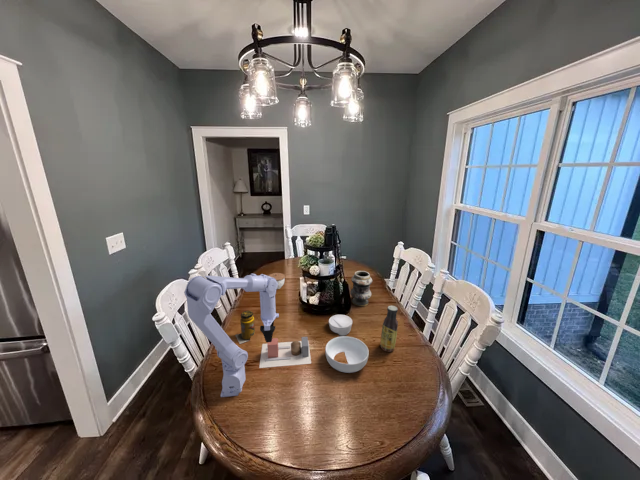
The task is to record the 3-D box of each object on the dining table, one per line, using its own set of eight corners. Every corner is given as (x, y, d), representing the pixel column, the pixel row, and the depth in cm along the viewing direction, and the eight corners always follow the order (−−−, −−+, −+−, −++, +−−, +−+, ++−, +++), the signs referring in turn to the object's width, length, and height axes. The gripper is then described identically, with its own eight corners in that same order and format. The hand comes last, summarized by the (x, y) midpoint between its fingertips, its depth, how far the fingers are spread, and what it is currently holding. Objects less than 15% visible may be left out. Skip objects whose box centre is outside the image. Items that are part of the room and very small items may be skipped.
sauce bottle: (377, 347, 112) (380, 306, 107) (385, 341, 116) (389, 301, 111) (389, 355, 108) (393, 313, 102) (398, 348, 112) (402, 308, 106)
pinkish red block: (278, 357, 104) (277, 344, 102) (268, 357, 103) (267, 345, 102) (278, 350, 108) (277, 337, 106) (268, 351, 107) (268, 338, 106)
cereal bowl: (373, 358, 106) (374, 344, 104) (358, 387, 92) (359, 371, 90) (336, 344, 114) (337, 330, 112) (317, 369, 100) (317, 353, 98)
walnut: (301, 355, 105) (300, 347, 104) (291, 356, 105) (291, 347, 104) (300, 348, 109) (300, 340, 108) (291, 349, 108) (290, 341, 107)
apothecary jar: (371, 308, 143) (373, 278, 139) (349, 306, 145) (350, 277, 140) (370, 297, 155) (372, 270, 150) (350, 296, 157) (351, 268, 152)
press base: (311, 366, 101) (311, 352, 99) (259, 371, 99) (258, 357, 97) (308, 343, 115) (308, 330, 113) (262, 346, 112) (261, 333, 110)
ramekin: (324, 333, 122) (324, 323, 120) (334, 321, 131) (334, 312, 130) (346, 340, 117) (347, 330, 115) (355, 327, 126) (355, 317, 125)
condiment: (258, 337, 118) (256, 314, 115) (239, 344, 114) (237, 320, 110) (252, 329, 124) (251, 307, 121) (235, 335, 119) (232, 312, 116)
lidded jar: (266, 285, 170) (265, 272, 168) (282, 282, 175) (281, 269, 172) (270, 292, 161) (270, 278, 159) (287, 288, 166) (286, 275, 163)
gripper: (277, 314, 93) (278, 346, 97) (279, 295, 107) (280, 324, 111) (257, 315, 92) (259, 348, 96) (261, 296, 106) (263, 325, 110)
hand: (269, 335), depth 103 cm, fingers open, 7 cm apart
